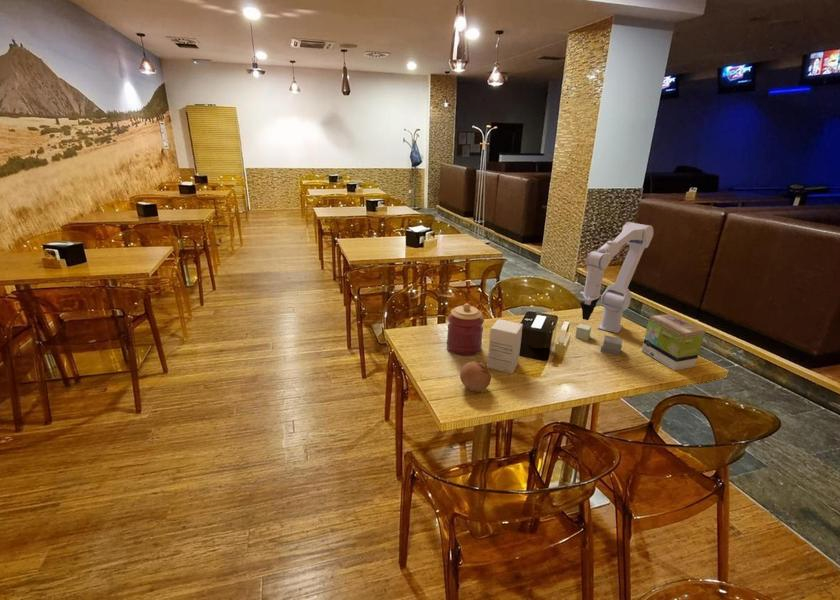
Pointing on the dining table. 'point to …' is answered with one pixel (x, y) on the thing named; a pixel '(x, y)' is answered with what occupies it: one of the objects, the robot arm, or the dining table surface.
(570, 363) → the dining table surface
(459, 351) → the canister
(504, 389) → the dining table surface
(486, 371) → the onion
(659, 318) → the tea box
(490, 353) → the supplement box
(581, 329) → the sage block
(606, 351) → the slab bottom
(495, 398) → the dining table surface
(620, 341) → the slab top
